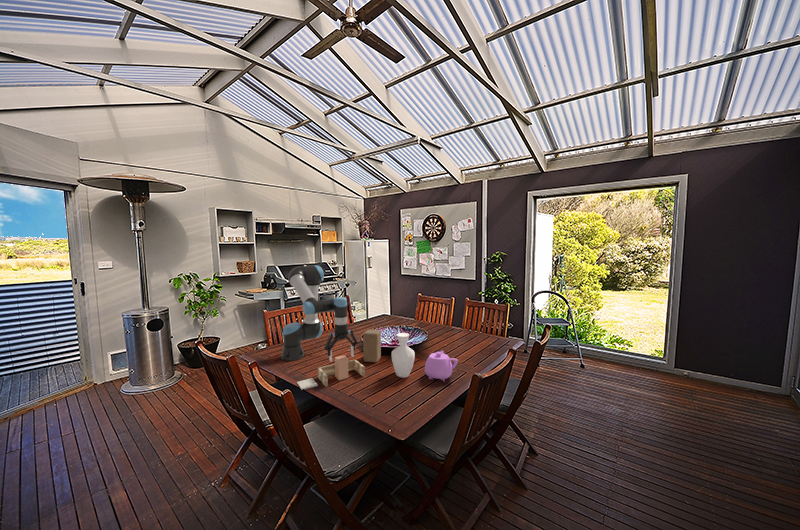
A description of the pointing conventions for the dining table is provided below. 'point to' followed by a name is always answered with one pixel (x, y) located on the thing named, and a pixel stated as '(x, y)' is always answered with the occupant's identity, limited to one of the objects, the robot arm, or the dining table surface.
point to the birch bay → (330, 370)
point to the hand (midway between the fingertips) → (341, 358)
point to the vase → (403, 356)
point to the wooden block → (372, 345)
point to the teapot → (439, 365)
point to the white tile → (307, 383)
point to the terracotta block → (341, 367)
